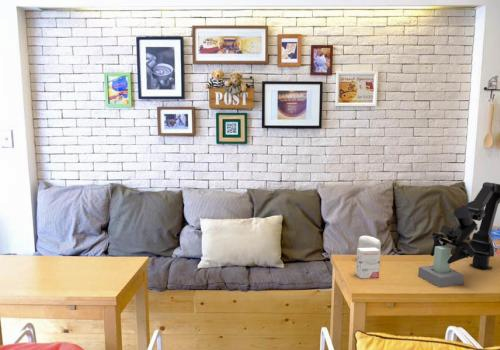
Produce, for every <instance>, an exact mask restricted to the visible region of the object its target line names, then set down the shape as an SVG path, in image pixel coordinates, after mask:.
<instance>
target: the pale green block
mask: <svg viewBox="0 0 500 350" xmlns="http://www.w3.org/2000/svg"><path fill="white" fill-rule="evenodd" d="M451 256H452V247H449V246H448V245H445V246H435V252H434V256H433V264H432V265H433V271H435V272H437V273H439V274H441V273H449V268H450V266H451V263H450V264H448V263H447V261H448V260H449V258H450V257H451Z"/></svg>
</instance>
